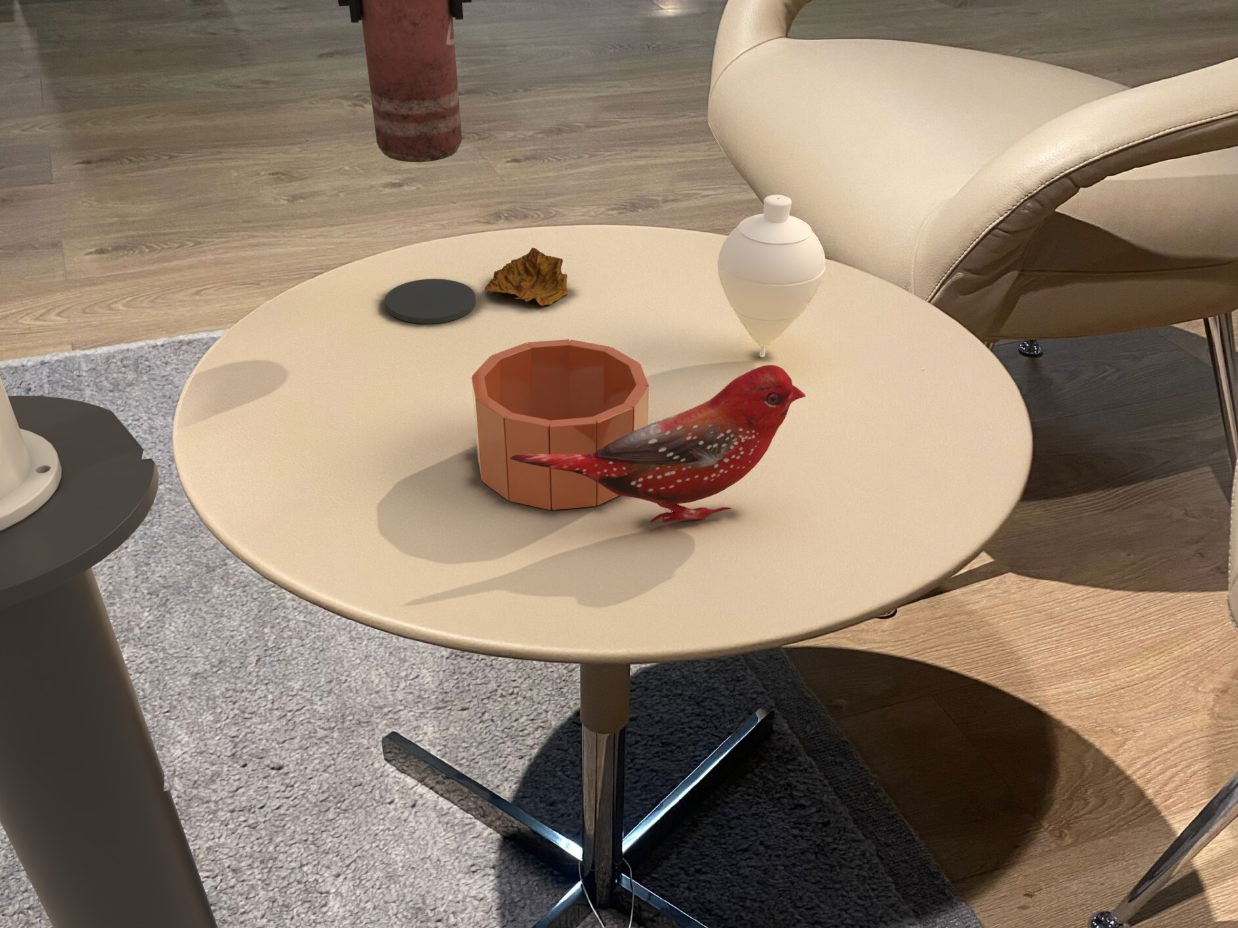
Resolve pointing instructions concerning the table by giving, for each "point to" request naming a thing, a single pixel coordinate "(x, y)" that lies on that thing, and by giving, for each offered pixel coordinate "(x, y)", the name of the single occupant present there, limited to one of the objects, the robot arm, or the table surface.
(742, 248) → the spinning top
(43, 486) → the robot arm
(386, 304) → the coaster
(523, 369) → the pot
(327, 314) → the table surface
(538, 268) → the leaf
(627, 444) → the decorative bird figurine
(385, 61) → the can
